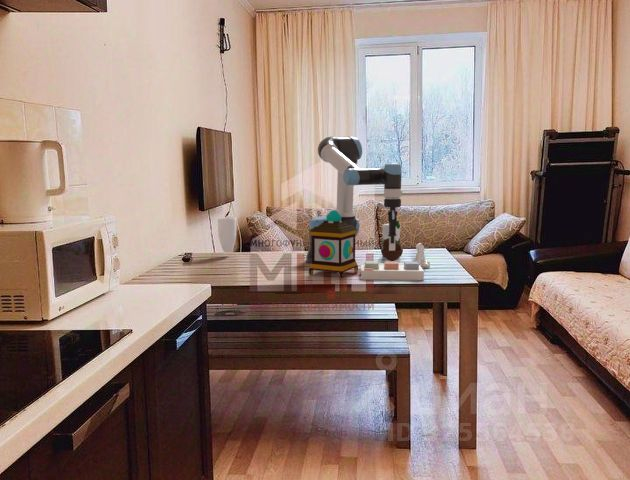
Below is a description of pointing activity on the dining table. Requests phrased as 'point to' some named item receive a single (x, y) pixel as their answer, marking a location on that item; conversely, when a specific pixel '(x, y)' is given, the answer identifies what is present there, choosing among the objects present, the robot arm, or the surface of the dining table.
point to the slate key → (411, 265)
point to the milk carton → (386, 232)
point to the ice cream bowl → (391, 254)
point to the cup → (227, 232)
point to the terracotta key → (391, 265)
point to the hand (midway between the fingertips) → (392, 250)
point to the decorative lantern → (333, 245)
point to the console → (392, 273)
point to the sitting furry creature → (421, 256)
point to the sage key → (372, 264)
